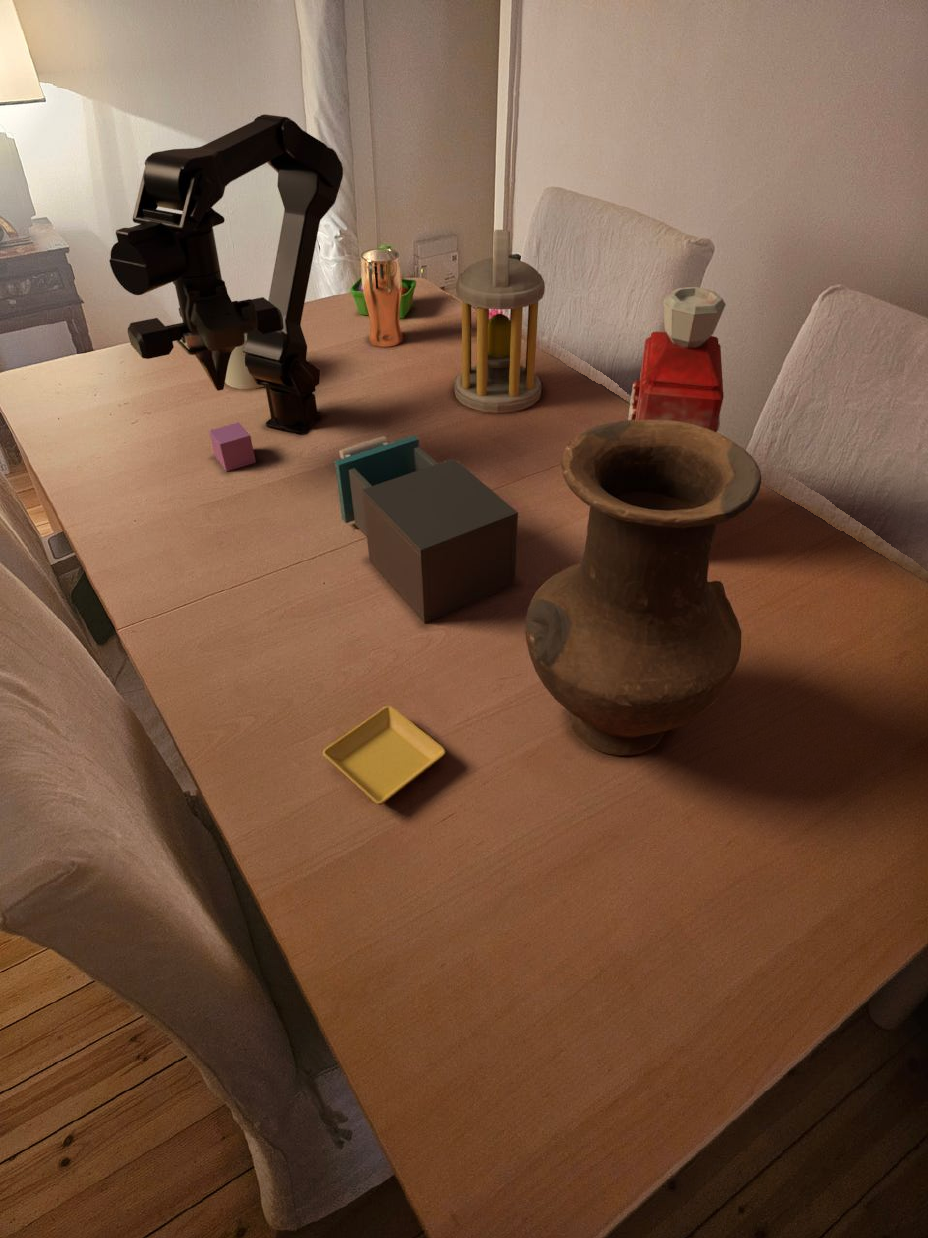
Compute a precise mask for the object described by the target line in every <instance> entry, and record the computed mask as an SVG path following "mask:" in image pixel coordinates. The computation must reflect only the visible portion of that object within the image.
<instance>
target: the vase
mask: <svg viewBox="0 0 928 1238" xmlns="http://www.w3.org/2000/svg"><path fill="white" fill-rule="evenodd" d="M560 466H561V468H562V470H563V472H562V476H563V478H564V481H565V483H566V484H567V486H568V488H569V489H570V491H572V493H573V494H574V495H575V496H576V497H577V498H579V499H580V500H581V502H583V503H584V504H586V505H587V506H589V512H588V514H589V515H588V519H587V526H586V528H587V529H586V538H585V545H584V550H583V556H582V560H581V562H579V563H576V564H573V565H571V566H568V567H567V568H565V569H563V570H561V571H559V572H557V573H556V574H554V575H552V576H551V577H549V578H548V579H546V581H544V582H543V584H542V585H541V586H540V587H539V588H538V589H537V590H536V592H535V593H534V595H533V597H532V598H531V600H530V603H529V606H528V608H527V611H526V615H525V625H524V633H525V641H526V646H527V650H528V654H529V657H530V660H531V662H532V665H533V669H534V671H535V673H536V674H537V676H538V678H539V680H540V681H541V682H542V685H543V686H544V687H545V689H546V690H547V691H548V692H549V694H550V695H551V696H552V697H553V699H554V700H556V702H558V704H559V705H561V707H563V708H564V709H566V711H568V712H569V721H570V722H571V729H572V730H573V732H574V734H575V735H576V736H577V737H579V739H580V740H581V741H583V743H585V744H586V745H587V746H589V747H591V748H592V749H594V750H597V751H598V752H601V753H605V754H607V755H614V756H633V755H634V756H635V755H638V754H642V753H646V752H647V751H650V750H652V749H653V748H655V747H656V746H657V745H658V744H659V743H660V742H661V741H662V739H663V737H664V735H665V733H666V732H667V731H670V730H674V729H677V728H679V727H682V726H684V725H686V724H688V723H689V722H691V721H692V720H694V719H695V718H697V717H698V716H700V715H702V714H703V713H704V712H705V711H706V710H708V709H709V708H710V707H711V705H712V704H714V703H715V702H716V701H717V699H718V698H720V695H721V694H722V693H723V691H724V690H725V689H726V687H727V685H728V684H729V682H730V680H731V679H732V677H733V675H734V673H735V671H736V669H737V666H738V663H739V660H740V657H741V656H740V655H741V651H742V628H741V626H740V623H739V621H738V618H737V615H736V613H735V611H734V609H733V607H732V605H731V602H730V601H729V599H728V597H727V594H726V591H725V586H724V583H723V582H722V581H720V580H712V581H708V574H709V567H710V565H709V564H710V555H711V551H712V548H713V547H712V546H713V542H714V537H715V533H716V529H717V524H721V523H724V522H727V521H729V520H731V519H733V518H735V517H737V516H739V515H740V514H741V513H743V512H745V511H746V510H747V509H748V508H749V507H750V506H751V505H752V504H753V502H754V501H755V499H756V498H757V496H758V494H759V492H760V489H761V485H762V473H761V472H762V471H761V469H760V468H759V465H758V463H757V462H756V460H755V458H753V456H752V455H751V453H749V452H748V451H747V450H745V448H743V447H742V446H740V445H739V444H738V443H736V442H734V441H732V440H731V439H729V438H728V437H726V436H724V435H722V434H720V433H718V432H714V431H712V430H709V429H706V428H703V427H700V426H697V425H693V424H690V423H685V422H680V421H672V420H628V419H625V420H619V421H613V422H607V423H605V424H601V425H597V426H594V427H592V428H590V429H588V430H586V431H583V432H582V433H580V434H578V435H576V437H574V438H573V439H572V440H571V441H570V443H568V444H567V445H566V446H565V449H564V450H563V452H562V457H561V460H560Z"/></svg>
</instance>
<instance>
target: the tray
mask: <svg viewBox="0 0 928 1238" xmlns="http://www.w3.org/2000/svg"><path fill="white" fill-rule="evenodd" d="M338 453H339V459H337V460H334V468H335V476H336V484H337V490H338V491H337V493H338V498H339V506H340V514H341V515H340V516H341V520H342V521H343V522H344V523H345V524H349V523H352V522H354V525H355V526H356V528H358V530H359V531H360V532H361V533H362V534H363V536H365V538H367V532H366V523H365V514H364V505H363V495H362V490H363V489H366V488H368V487H371V486H374V485H377V484H380V483H383V482H386V481H389V480H392V479H395V478H398V477H401V476H404V475H406V474H409V473H412V472H415V471H418V470H421V469H424V468H427V467H430V466H433V465H436V464H439V462H437V461H436V460H435V459H434V458H433V457H432V456H430V455H429V454H428V452H426V451H425V450H424V449H423V448H421V447H420V439H419V438H418V437H417V435H410V436H408V437H404V438H402V439H398V440H396V441H392V442H389V441H388V437H386V435H382V436H379V437H376V438H373V439H370V440H367V441H363V442H360V443H356V444H354V445H351V446H348V447H345V448H341V449H339V450H338Z"/></svg>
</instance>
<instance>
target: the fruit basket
mask: <svg viewBox="0 0 928 1238" xmlns="http://www.w3.org/2000/svg"><path fill="white" fill-rule="evenodd" d="M378 248H386V249H392V250H394V249H393V248H392V246H391V245H389V244H388V245H387V244H386V245H385V244H382V245H380V246H379V247H378ZM416 286H417V280H416V279H415V280H414V279H407V278H402V295H401V304H400V314H399V319H405V316H407V314H408V313H409V312H410V310H411V309H412V305H413V299H414V294H415V289H416ZM349 292H350V295H352V298H353V300H354V303H355V305H356V308H357V311H358V313H359V315H361V316H369V313H368V309H367V305H366V301H365V297H364V293H363V288H362V278H361V277H360V278H359V279H358V280H356V281H355V283H354V284H353V285H352V286H351V287H350V288H349Z"/></svg>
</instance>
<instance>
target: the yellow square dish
mask: <svg viewBox="0 0 928 1238" xmlns="http://www.w3.org/2000/svg"><path fill="white" fill-rule="evenodd" d="M446 753H447V751H446V749H445V748H444V747H443V746H442V745H441V744H440V743H438V742H437V741H436V740H435V739H433V738H432V737H431V736H430V735H428V734H427V733H425V732H424V731H423V730H422V729H420V728H419V727H418V726H417V725H416V724H414V723H413V722H412V721H411V720H410V719H408V718H407V717H406V716H404V714H402V713H401V712H400V711H398V709H396V708H395V707H394V706H392V705H386V706H383V707H382V708H380V709H379V710H378V711H376V712H374V714H372V715H371V716H369V717H368V718H366V719H365V720H363V722H361V723H359V724H358V725H357V726H355V727H354V728H352V729H351V730H349V731H348V732H347V733H345V734H344V735H343V736H341V737H339V738H337V739H336V740H335V741H334V742H331V744H329V745H328V746H326V747H325V748H324V749H323V751H322V755H323V757H325V759H327V760H328V761H329V762H330V763H331V764H332V765H333V766H334V767H335V768H336V769H338V770H339V771H340V772H341V773H342V774H343V775H344V776H345V777H347V778H348V779H349V781H351V782H352V783H353V784H354V785H356V787H358V788H359V789H360V790H361V791H362V793H364V794H365V795H366V796H367V797H368V798H369V799H371V801H373V802H374V803H375V804H376V805H382V804H384V803H386V802H387V801H388V800H389V799H391V798H392V797H394V795H396V794H397V793H398V792H399V791H401V790H403V788H405V787H406V786H407V785H409V784H410V783H411V782H412V781H413V780H415V779H416V778H417V777H419V776H420V775H422V774H423V773H424V772H425V771H427V770H428V769H429V768H430V767H431V766H432V765H434V764H435V763H436V762H438V761H439V760H440V759H441V758H443V757H444V756H445V755H446Z"/></svg>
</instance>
